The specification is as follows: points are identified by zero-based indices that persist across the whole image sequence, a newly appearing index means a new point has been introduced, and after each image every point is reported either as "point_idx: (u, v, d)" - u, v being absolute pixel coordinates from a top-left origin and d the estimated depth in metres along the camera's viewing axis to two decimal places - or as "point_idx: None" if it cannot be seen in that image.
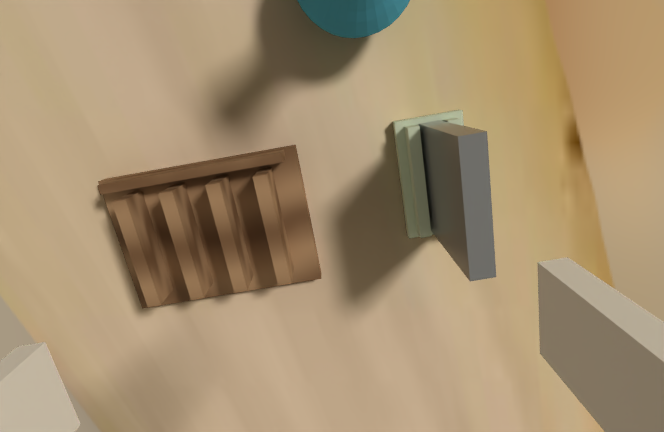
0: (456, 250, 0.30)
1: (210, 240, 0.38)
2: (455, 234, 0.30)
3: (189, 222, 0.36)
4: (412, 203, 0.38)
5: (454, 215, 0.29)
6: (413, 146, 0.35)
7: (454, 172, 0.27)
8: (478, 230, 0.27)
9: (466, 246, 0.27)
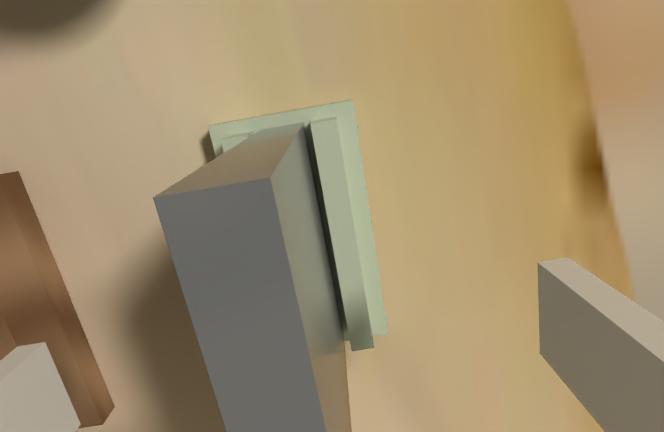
0: None
1: None
2: None
3: None
4: None
5: None
6: None
7: None
8: None
9: None
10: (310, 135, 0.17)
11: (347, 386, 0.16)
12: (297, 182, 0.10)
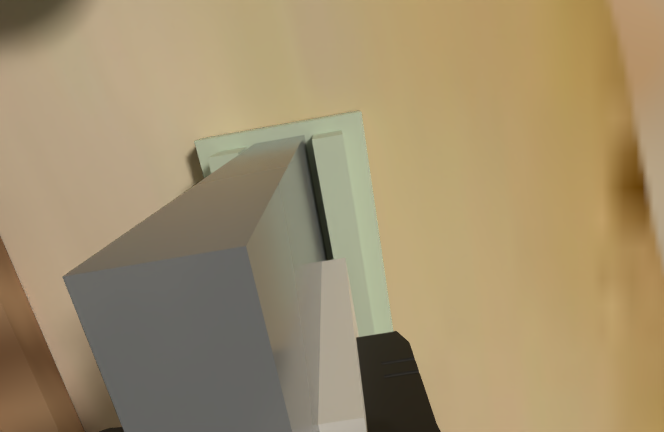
0: None
1: None
2: None
3: None
4: None
5: None
6: None
7: None
8: None
9: None
10: (312, 151, 0.15)
11: None
12: (294, 220, 0.08)
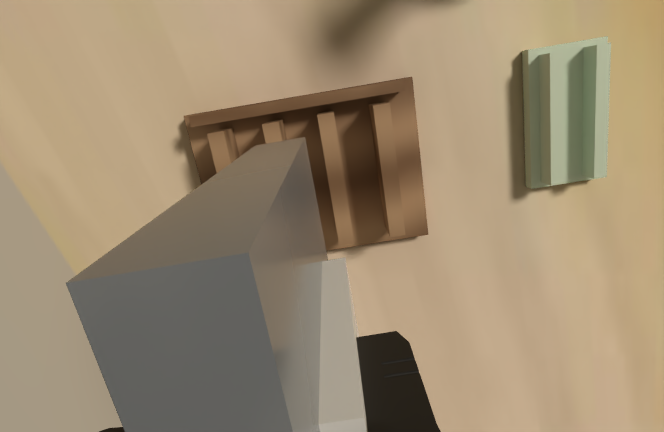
0: None
1: None
2: None
3: None
4: (539, 147, 0.33)
5: None
6: (554, 75, 0.30)
7: None
8: None
9: None
10: (581, 55, 0.31)
11: None
12: (295, 223, 0.08)
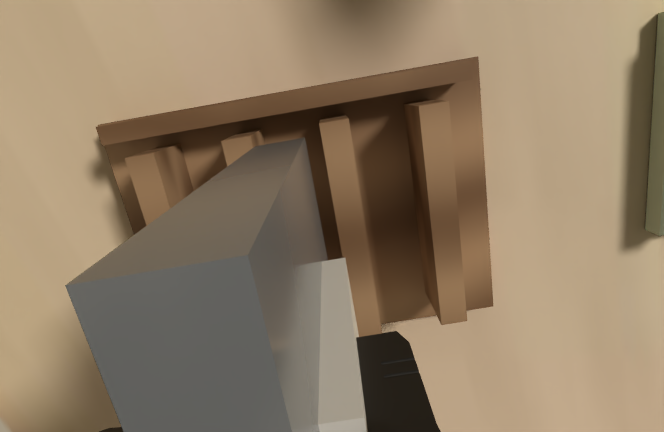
0: None
1: None
2: None
3: None
4: None
5: None
6: None
7: None
8: None
9: None
10: None
11: None
12: (295, 224, 0.08)
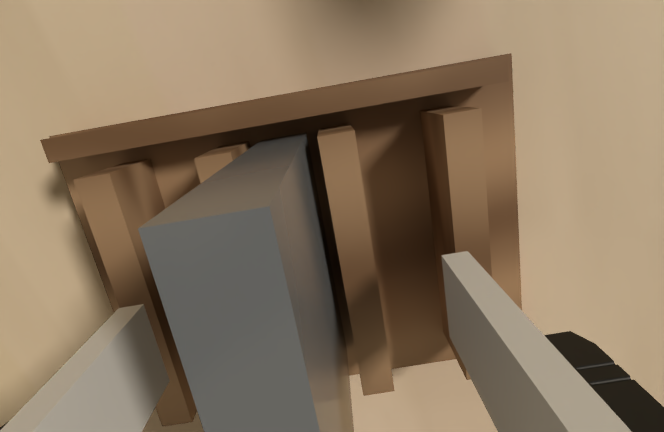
0: None
1: None
2: None
3: None
4: None
5: None
6: None
7: None
8: None
9: None
10: None
11: (351, 409, 0.15)
12: (299, 201, 0.09)
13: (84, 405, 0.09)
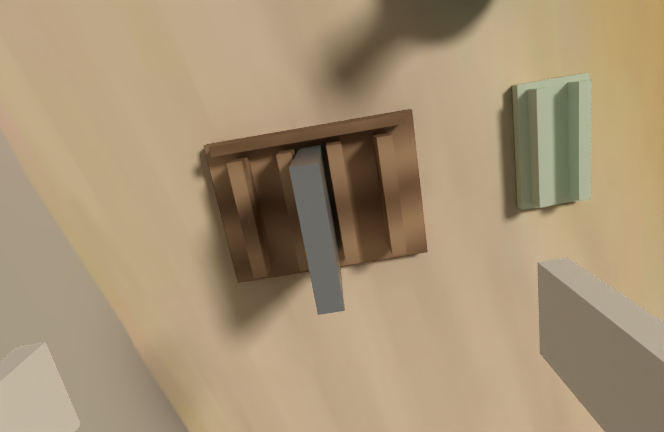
0: None
1: None
2: None
3: None
4: (528, 172, 0.36)
5: None
6: (541, 109, 0.33)
7: None
8: (321, 263, 0.26)
9: (311, 278, 0.27)
10: (565, 89, 0.34)
11: (340, 266, 0.34)
12: (321, 167, 0.28)
13: None
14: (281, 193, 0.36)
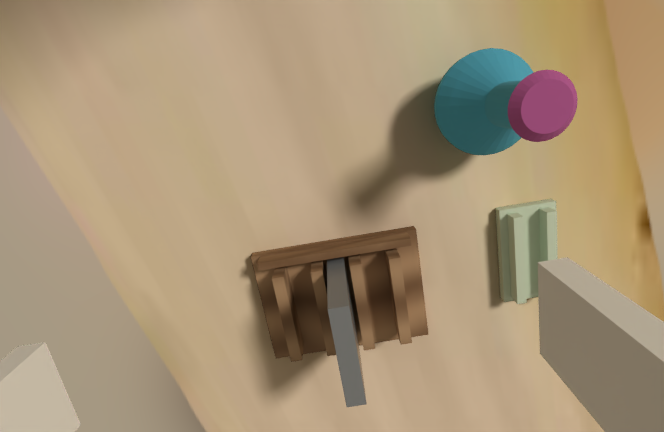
0: None
1: None
2: None
3: None
4: (509, 274, 0.45)
5: None
6: (517, 232, 0.42)
7: None
8: (349, 372, 0.35)
9: (342, 382, 0.36)
10: (537, 213, 0.43)
11: None
12: (348, 294, 0.37)
13: None
14: (311, 291, 0.45)
